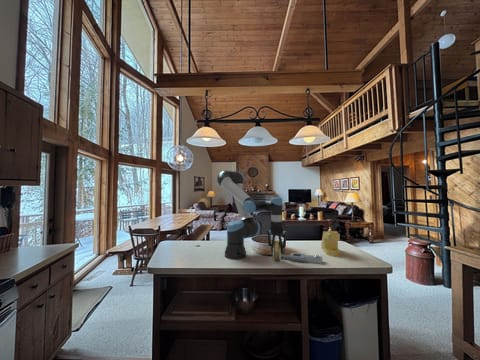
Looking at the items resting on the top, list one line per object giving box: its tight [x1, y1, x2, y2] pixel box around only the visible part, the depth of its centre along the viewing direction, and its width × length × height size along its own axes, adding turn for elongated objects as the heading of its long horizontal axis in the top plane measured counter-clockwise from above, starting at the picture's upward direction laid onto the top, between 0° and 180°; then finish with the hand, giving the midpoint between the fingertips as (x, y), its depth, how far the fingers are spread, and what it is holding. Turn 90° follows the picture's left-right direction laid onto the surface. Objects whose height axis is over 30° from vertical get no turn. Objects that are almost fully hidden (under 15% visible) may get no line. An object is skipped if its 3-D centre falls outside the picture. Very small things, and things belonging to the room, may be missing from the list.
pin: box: [273, 240, 281, 262], centre depth 141 cm, size 4×4×12 cm
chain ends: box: [280, 252, 324, 265], centre depth 142 cm, size 31×9×4 cm, turn 68°
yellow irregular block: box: [321, 230, 341, 257], centre depth 159 cm, size 20×9×16 cm, turn 171°
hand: (277, 257), depth 141 cm, fingers closed on pin, 3 cm apart
